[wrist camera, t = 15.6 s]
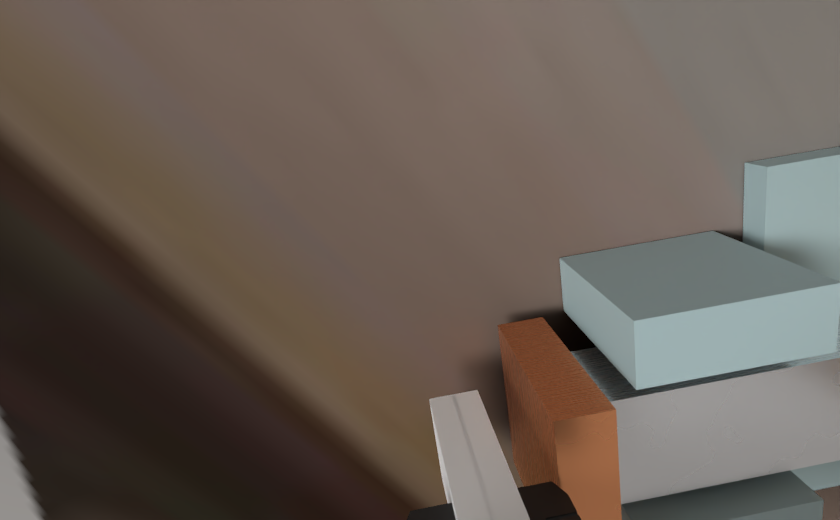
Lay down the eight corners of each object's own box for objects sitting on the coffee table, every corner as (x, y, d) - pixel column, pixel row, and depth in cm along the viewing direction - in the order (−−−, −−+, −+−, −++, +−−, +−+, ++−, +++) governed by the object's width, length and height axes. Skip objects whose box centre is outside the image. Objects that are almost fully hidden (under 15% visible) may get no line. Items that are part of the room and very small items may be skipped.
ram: (497, 325, 17) (553, 421, 12) (911, 249, 18) (1124, 311, 13) (514, 461, 19) (569, 597, 14) (894, 387, 19) (1079, 490, 14)
